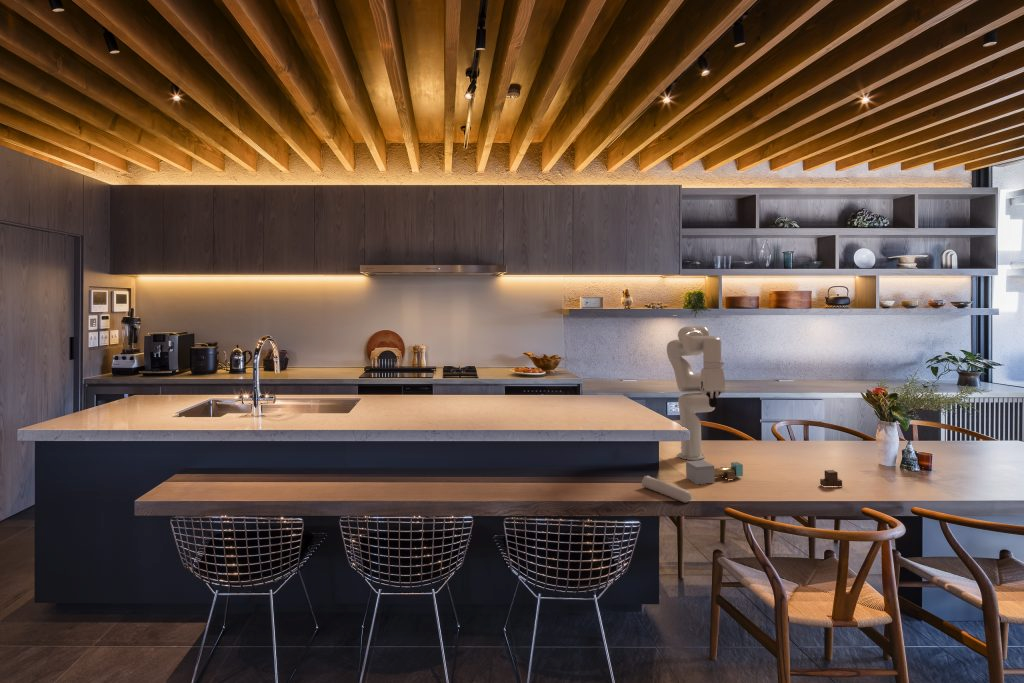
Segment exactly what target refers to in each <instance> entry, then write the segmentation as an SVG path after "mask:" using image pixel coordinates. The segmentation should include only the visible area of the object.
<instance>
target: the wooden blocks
mask: <svg viewBox="0 0 1024 683" xmlns="http://www.w3.org/2000/svg"><path fill="white" fill-rule="evenodd" d="M820 484H821V485H823V486H842V487H843V480H842V479H841V478H839V476H838V471H836V470H834V469H826V470H824V478H820V479H819V485H820Z"/></svg>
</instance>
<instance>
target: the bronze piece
mask: <svg viewBox="0 0 1024 683" xmlns="http://www.w3.org/2000/svg"><path fill="white" fill-rule="evenodd" d="M743 466H744V465H743V463H741V462H738V461H736V462H733V461H731V462H730V466H729V467H728V466H725V467H726V468H720V467H714V478H717V477H718V478H722V476H727V471H735V478H736V477H744V467H743Z"/></svg>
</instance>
